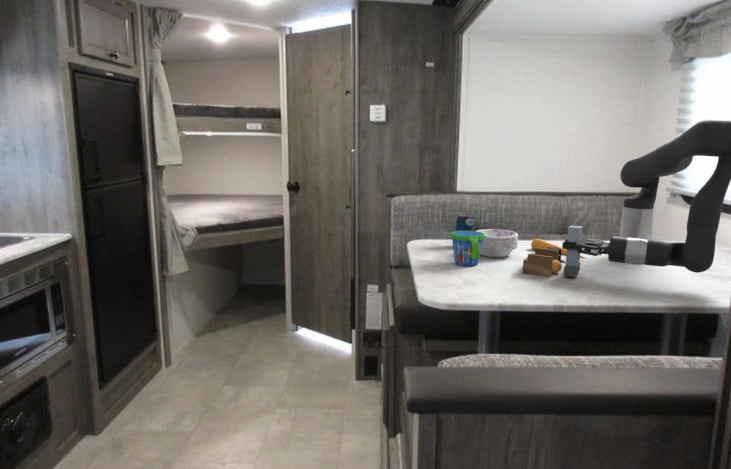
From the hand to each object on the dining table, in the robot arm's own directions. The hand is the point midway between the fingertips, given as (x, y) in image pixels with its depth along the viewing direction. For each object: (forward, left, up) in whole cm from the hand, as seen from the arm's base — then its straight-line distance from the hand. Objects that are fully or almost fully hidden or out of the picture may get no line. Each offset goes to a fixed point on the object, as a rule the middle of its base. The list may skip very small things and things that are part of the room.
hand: (564, 243), depth 153 cm
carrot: (-28, -6, -10) cm, 30 cm away
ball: (0, -1, -5) cm, 6 cm away
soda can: (-20, -38, -9) cm, 44 cm away
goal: (0, -6, -9) cm, 11 cm away
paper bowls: (-14, -25, -10) cm, 30 cm away
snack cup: (+4, -29, -10) cm, 30 cm away
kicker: (0, +3, -8) cm, 9 cm away
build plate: (-18, -5, -10) cm, 21 cm away
